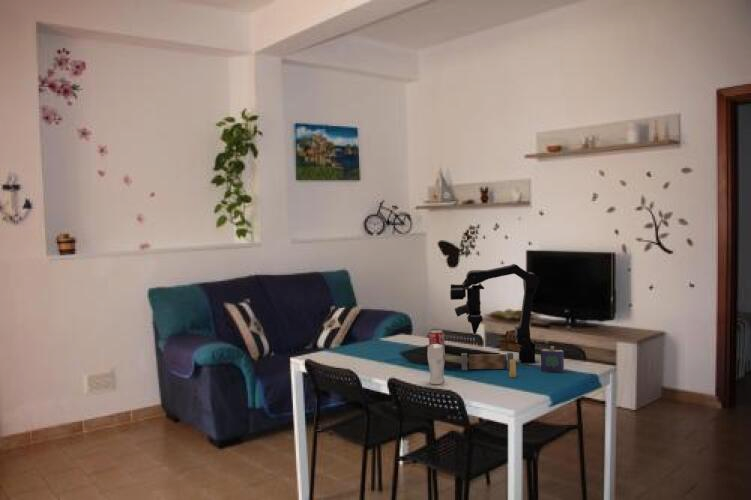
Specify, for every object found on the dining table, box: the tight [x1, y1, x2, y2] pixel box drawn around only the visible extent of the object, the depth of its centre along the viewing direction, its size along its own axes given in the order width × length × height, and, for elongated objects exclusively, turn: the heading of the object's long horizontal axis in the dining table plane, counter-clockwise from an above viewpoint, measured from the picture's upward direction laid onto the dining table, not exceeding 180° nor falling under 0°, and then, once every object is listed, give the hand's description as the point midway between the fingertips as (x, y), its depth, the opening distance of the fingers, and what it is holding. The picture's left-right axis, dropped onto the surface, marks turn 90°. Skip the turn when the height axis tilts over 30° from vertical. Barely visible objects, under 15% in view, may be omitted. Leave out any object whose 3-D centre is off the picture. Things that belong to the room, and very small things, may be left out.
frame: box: [460, 352, 517, 378], centre depth 262 cm, size 22×13×7 cm, turn 84°
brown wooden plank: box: [468, 353, 508, 370], centre depth 267 cm, size 16×2×6 cm, turn 84°
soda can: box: [428, 329, 446, 352], centre depth 292 cm, size 7×7×12 cm
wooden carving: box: [497, 329, 521, 352], centre depth 296 cm, size 16×5×10 cm, turn 76°
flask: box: [540, 345, 565, 373], centre depth 261 cm, size 9×3×11 cm, turn 74°
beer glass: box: [426, 344, 446, 386], centre depth 252 cm, size 7×7×15 cm
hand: (474, 333), depth 278 cm, fingers closed
